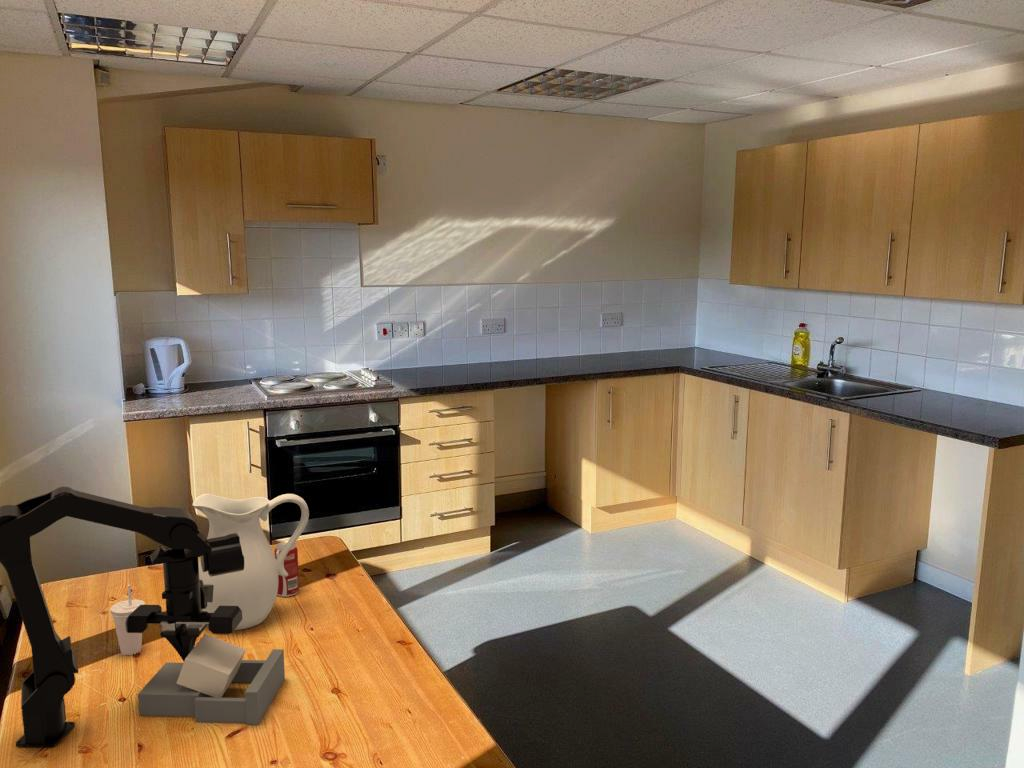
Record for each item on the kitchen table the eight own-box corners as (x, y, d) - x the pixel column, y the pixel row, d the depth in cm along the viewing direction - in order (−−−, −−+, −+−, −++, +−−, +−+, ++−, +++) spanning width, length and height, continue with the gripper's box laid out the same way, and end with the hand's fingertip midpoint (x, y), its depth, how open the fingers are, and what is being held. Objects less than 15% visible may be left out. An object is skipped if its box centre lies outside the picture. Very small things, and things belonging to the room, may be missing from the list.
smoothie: (135, 660, 160) (130, 593, 158) (106, 657, 161) (101, 590, 159) (155, 645, 166) (150, 580, 164) (127, 642, 168) (122, 577, 165)
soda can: (274, 590, 193) (272, 542, 191) (296, 587, 195) (295, 539, 193) (278, 599, 188) (276, 549, 187) (300, 595, 191) (299, 546, 189)
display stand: (258, 724, 139) (256, 692, 138) (133, 722, 139) (131, 689, 138) (284, 679, 154) (283, 649, 153) (172, 676, 154) (170, 647, 153)
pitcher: (194, 641, 168) (186, 511, 163) (202, 607, 184) (195, 488, 180) (313, 628, 174) (309, 503, 170) (311, 596, 190) (307, 481, 186)
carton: (220, 699, 142) (229, 674, 141) (176, 683, 141) (185, 658, 140) (237, 672, 151) (246, 649, 150) (196, 657, 150) (204, 633, 149)
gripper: (250, 563, 151) (254, 642, 153) (150, 562, 151) (156, 640, 154) (228, 589, 140) (233, 673, 143) (120, 588, 140) (127, 671, 143)
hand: (187, 663), depth 146 cm, fingers closed
